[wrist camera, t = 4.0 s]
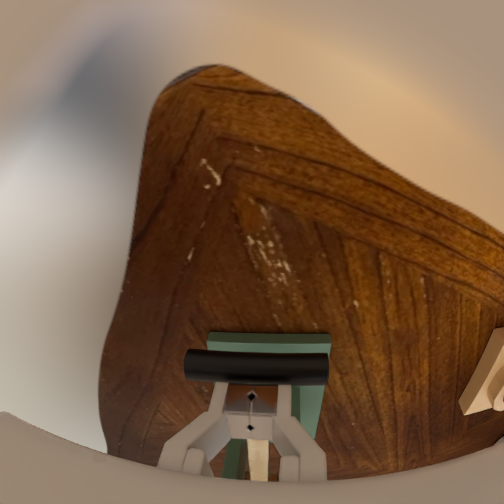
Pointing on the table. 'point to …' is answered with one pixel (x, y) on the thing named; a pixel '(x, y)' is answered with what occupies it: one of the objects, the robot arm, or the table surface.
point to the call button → (487, 378)
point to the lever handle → (257, 372)
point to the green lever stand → (302, 397)
